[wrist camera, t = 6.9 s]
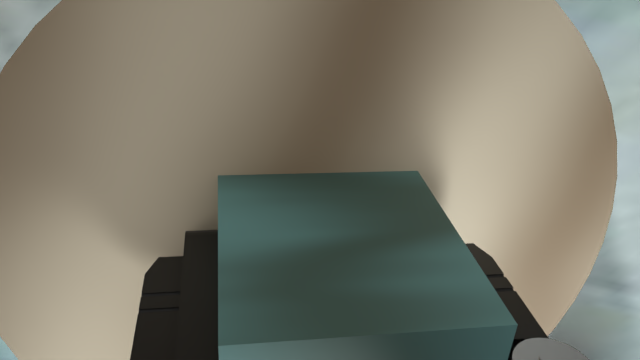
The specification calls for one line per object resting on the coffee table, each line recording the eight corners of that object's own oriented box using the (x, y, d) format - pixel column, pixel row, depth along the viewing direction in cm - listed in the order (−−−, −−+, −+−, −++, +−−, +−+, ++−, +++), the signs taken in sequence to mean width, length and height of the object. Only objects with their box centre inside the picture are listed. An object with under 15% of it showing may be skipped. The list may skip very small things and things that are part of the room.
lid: (668, -81, 11) (1021, -37, 6) (516, 402, 18) (632, 611, 13) (-103, -124, 9) (-485, -106, 4) (45, 447, 15) (-34, 719, 11)
